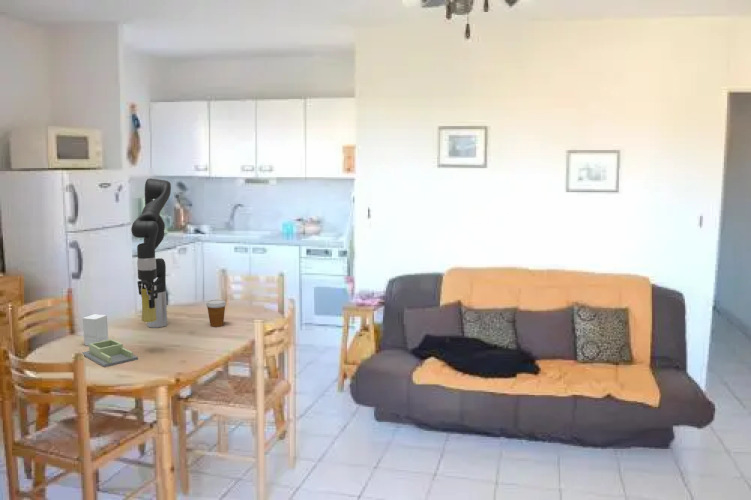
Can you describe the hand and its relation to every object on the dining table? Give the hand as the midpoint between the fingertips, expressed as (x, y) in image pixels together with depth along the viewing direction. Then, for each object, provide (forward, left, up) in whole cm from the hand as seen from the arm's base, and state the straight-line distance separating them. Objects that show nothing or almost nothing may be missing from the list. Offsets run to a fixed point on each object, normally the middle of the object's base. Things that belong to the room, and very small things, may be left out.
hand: (148, 306), depth 282 cm
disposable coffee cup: (-16, +43, -20) cm, 50 cm away
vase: (0, 0, -6) cm, 6 cm away
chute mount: (-5, -16, -20) cm, 26 cm away
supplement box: (-27, -12, -20) cm, 36 cm away
